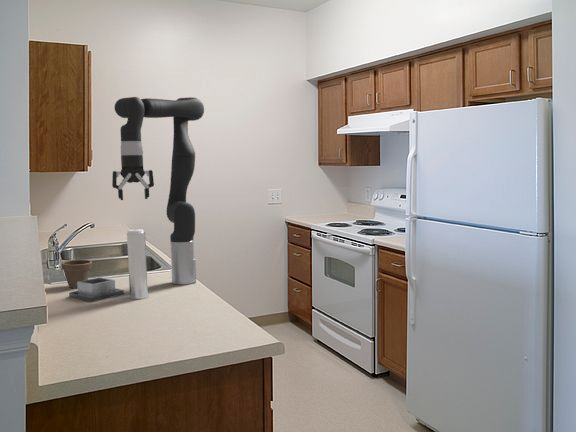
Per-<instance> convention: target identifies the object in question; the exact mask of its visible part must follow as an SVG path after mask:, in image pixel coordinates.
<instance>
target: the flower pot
mask: <svg viewBox="0 0 576 432" xmlns="http://www.w3.org/2000/svg"><path fill="white" fill-rule="evenodd" d="M92 267H93V261H92V260H88V259H73V260H66V261H63V262H61V270H63V272H64V275H65V280H66V281H67V285H68V287H69V288H71V289H78V287H77V282H78V281H83V280H88V279H89V275H90V271H91V269H92Z"/></svg>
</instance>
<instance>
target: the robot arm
mask: <svg viewBox="0 0 576 432" xmlns="http://www.w3.org/2000/svg"><path fill="white" fill-rule="evenodd" d="M114 111H115V113H116V115H117V116H118V117H120V118H123V119H127V122H126V123H125V124H123V125H122V126H121V127H120V130H119V131H120V163H121V170H120V171H116V170H113V171H112V177H111V178H112V180H111V181H112V188H113V189H117V191H118V192H117V197H118V199H119V200H120V201H124V193H123V192H124V191H123V188H124V186H125V184H127V183H129V184H132V183H140V185H142V186H143V187H144V200H148V198H149V197H150V188H152V187H154V186H155V183H154V182H155V180H154V172H153V170H152V169H149V170H145V169H144V158H143V157H144V156H143V154H144V150H143V144H142V127H143V122H144V118H146V119H147V118H148V119H149V118H150V119H160V118H172V120H173V140H172V141H173V143H172V155H171V156H172V157H171V165H170V166H171V167H170V169H171V171H170V185H169V195H168V199H167V205H166V217H167V219H168V220H169V222H170V223H173V231H172V233H171V234H170V237H169V239H170V243H169V244H170V262H171V263H170V264H171V265H170V266H171V284H173V285H188V284H194V283H197V272H196V271H197V268H196V267H197V265H196V258H195V250H194V236H195V233H196V211H195V208H194V206H193V205H192V204H191V203H189V202H187V192H188V187H189V185H190V182H191V180H192V177H193V175H194V171H195V166H196V151H195V148H194V146H193V144H192V142H191V140H190V136H189V131H188V130H189V128H188V127H189V122H190V121H191V122H192V121H193V122H194V121H198V120H200V119H201V118H202V117H203V115H204V113H205V106H204V103H203V102H202V101H201V100H200V99H199V98H197V97H179V98H177V99H176V100H174V99H173V100H172V99H162V98H151V97H150V98H140V97H138V96H130V97H121V98H119V99H117V101H116V102H115V103H114ZM145 174H146V176H147V177H148V180H149V183H147V182H146V180H144V176H145ZM119 176H121V177H122V179H121V182H120V183H119V184H118V183H117V178H118V177H119Z"/></svg>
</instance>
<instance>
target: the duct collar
mask: <svg viewBox="0 0 576 432" xmlns="http://www.w3.org/2000/svg"><path fill="white" fill-rule="evenodd" d="M77 287H78V288H77V290H76V291H71V292H69V293H68V294H69V295H68V296H69V297H70V298H74V299H78V300H81V301H84V302H89V303H93V302H97V301H102V300H104V299H111V298H113V297H118V296H121V295H125V290H124V289H120V288H116V280H115V279H112V278H107V277H103V276H102V277H100V276H98V277H95V278H94V277H93V278H88V280H83V281H78V282H77Z"/></svg>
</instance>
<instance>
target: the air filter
mask: <svg viewBox="0 0 576 432" xmlns="http://www.w3.org/2000/svg"><path fill="white" fill-rule="evenodd" d="M126 242H127V244H126V245H127V264H128V265H127V266H128V284H129V285H128V286H129V299H131V300H143V299H146V298H148V297H149V295H148V292H149V291H148V274H147V273H148V272H147V271H148V270H147V247H146V232H145V231H144V229H142V228H138V229H137V228H136V229H128V230H127V231H126Z"/></svg>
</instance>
